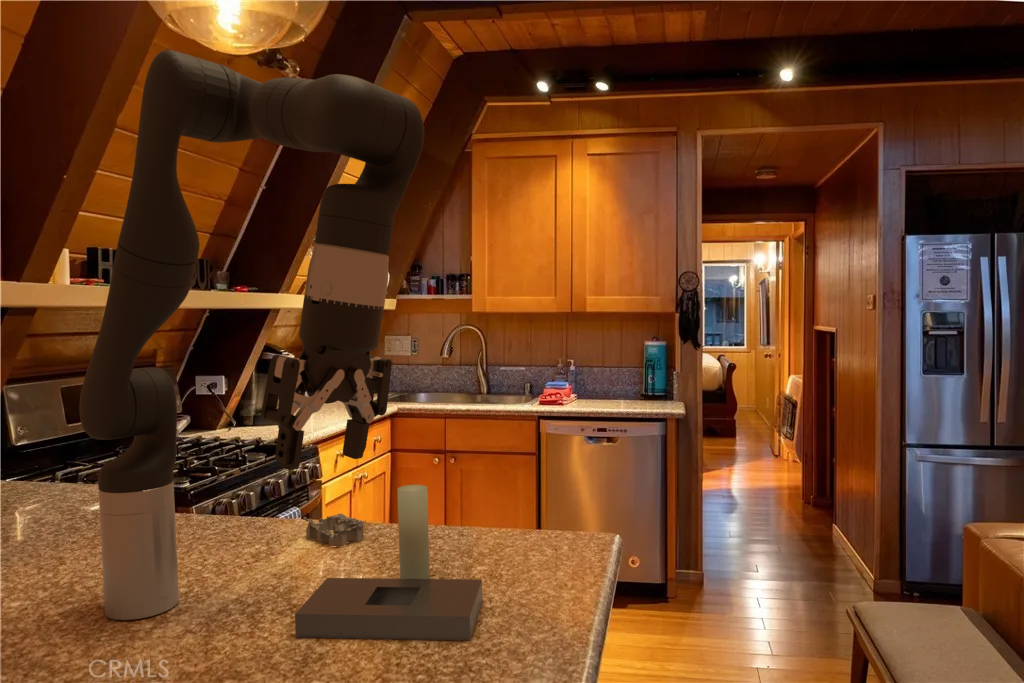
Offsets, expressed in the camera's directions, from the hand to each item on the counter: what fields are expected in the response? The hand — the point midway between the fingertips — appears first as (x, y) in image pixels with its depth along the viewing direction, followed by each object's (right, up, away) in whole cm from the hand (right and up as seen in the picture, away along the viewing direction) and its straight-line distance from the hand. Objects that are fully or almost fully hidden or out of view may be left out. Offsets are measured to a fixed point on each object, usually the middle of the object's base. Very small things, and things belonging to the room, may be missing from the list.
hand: (321, 462), depth 71 cm
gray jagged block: (-13, -24, +59) cm, 65 cm away
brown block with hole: (+3, -25, +25) cm, 36 cm away
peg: (+4, -24, +38) cm, 45 cm away
